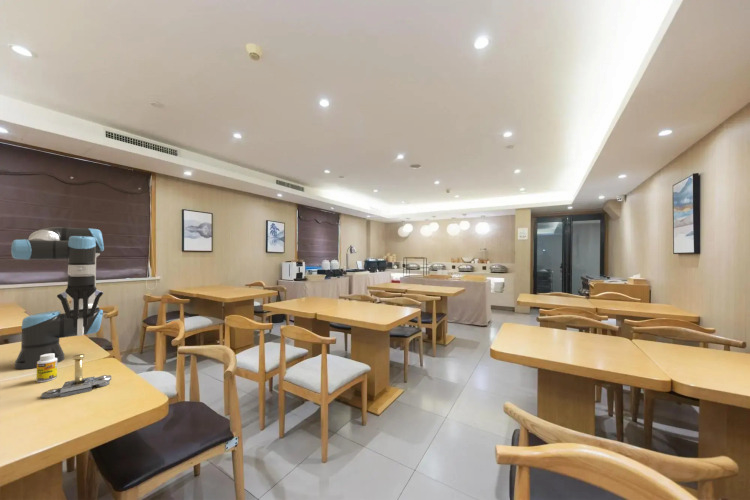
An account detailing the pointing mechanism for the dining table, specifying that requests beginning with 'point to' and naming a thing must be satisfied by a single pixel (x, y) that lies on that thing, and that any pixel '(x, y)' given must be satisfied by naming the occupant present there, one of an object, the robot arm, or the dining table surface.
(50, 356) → the supplement bottle
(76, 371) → the pin
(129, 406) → the dining table surface
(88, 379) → the grey metal link plate
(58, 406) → the dining table surface
